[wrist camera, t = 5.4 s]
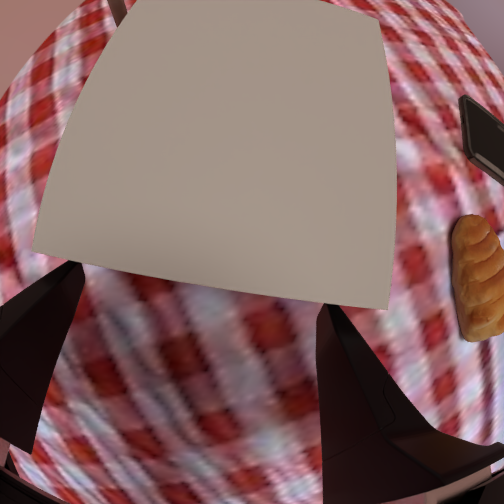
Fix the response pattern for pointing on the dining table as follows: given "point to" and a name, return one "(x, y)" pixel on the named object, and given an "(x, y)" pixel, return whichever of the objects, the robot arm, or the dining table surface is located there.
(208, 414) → the dining table surface
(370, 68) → the beige box
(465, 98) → the phone
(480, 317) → the pastry
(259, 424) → the dining table surface
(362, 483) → the robot arm
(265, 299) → the dining table surface
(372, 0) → the dining table surface
